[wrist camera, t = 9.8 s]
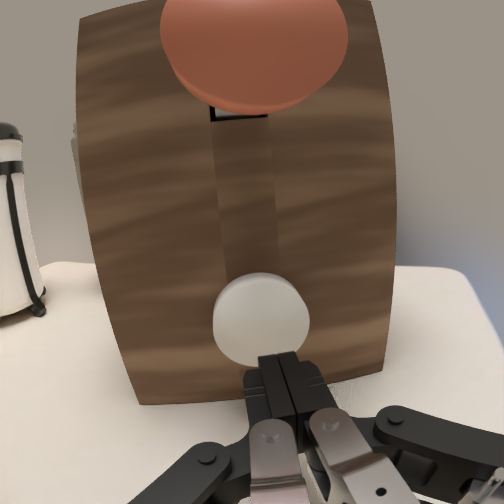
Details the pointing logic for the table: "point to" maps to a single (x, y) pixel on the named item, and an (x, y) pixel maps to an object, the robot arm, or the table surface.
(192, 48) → the salmon round knob
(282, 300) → the grey plunger
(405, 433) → the robot arm
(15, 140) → the coffee press
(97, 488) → the table surface
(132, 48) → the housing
